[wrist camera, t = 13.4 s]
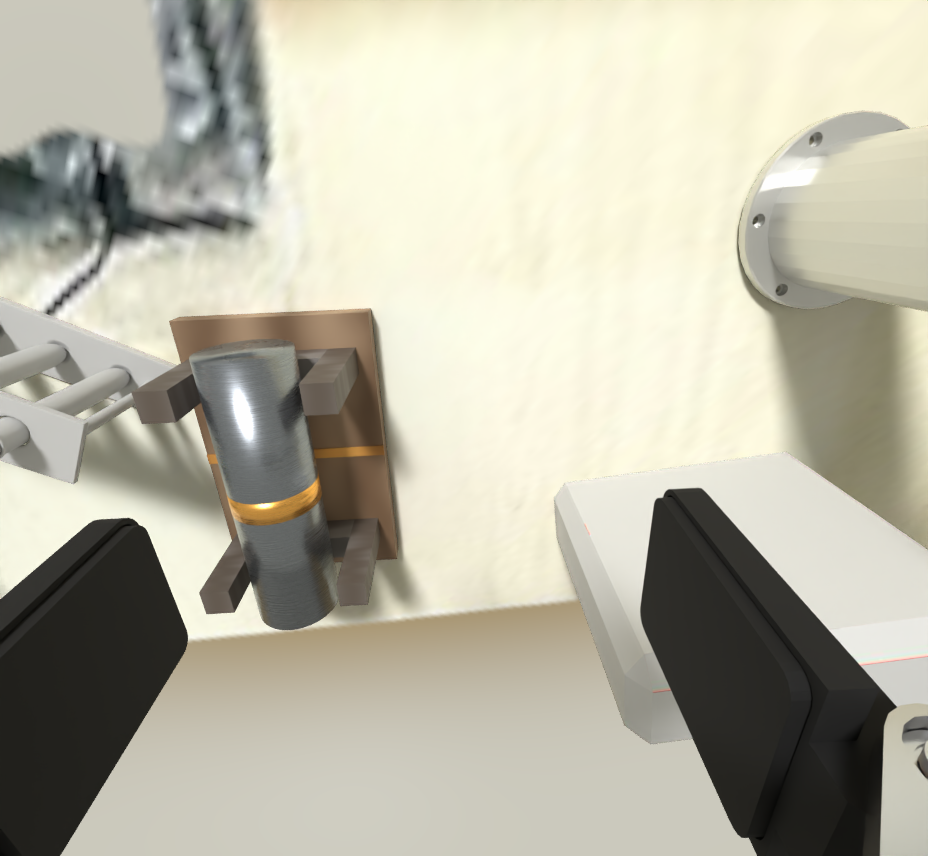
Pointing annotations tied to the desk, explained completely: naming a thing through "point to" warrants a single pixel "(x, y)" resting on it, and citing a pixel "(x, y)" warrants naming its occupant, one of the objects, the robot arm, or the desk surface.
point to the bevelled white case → (779, 541)
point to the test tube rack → (73, 361)
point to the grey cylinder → (269, 476)
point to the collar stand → (332, 430)
